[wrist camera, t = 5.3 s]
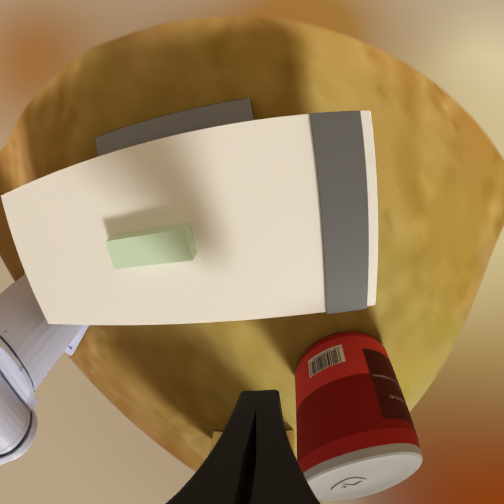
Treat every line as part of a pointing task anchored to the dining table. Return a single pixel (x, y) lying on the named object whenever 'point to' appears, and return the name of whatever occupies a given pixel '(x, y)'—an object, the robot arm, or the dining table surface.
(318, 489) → the canned food
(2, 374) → the robot arm
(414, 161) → the dining table surface
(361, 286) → the leveling board
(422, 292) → the dining table surface
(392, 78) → the dining table surface
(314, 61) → the dining table surface
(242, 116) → the pivot stand
